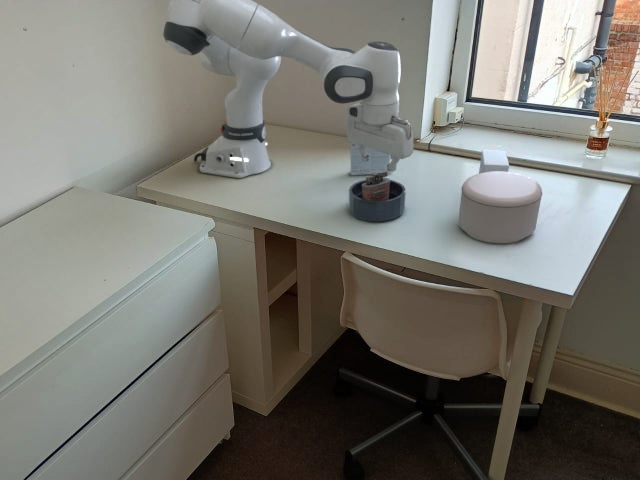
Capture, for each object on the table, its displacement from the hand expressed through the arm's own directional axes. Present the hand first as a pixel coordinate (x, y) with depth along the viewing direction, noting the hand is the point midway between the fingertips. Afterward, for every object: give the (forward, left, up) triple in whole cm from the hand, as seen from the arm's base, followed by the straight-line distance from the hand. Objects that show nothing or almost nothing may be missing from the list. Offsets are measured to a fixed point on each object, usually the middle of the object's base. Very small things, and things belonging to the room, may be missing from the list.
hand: (378, 165), depth 171 cm
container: (+30, -5, -13) cm, 33 cm away
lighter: (0, 0, -12) cm, 12 cm away
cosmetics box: (+28, +15, -13) cm, 34 cm away
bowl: (0, 0, -13) cm, 13 cm away
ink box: (-6, +24, -13) cm, 28 cm away
